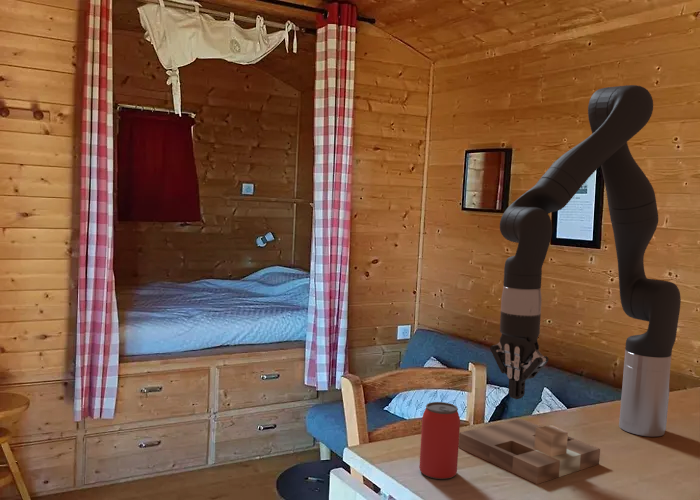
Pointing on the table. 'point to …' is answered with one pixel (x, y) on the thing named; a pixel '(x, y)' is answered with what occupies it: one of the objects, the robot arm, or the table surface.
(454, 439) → the beer can
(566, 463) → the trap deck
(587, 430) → the table surface
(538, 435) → the maple block
